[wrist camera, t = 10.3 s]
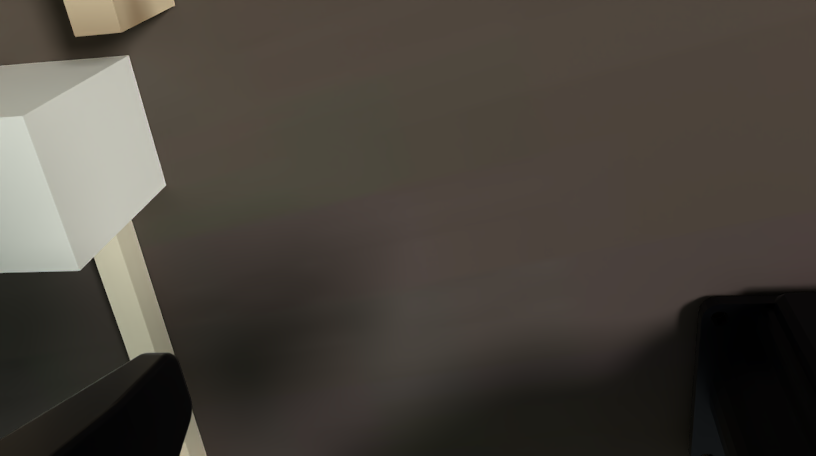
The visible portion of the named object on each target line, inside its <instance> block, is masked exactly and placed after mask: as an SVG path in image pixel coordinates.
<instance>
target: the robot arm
mask: <svg viewBox="0 0 816 456" xmlns="http://www.w3.org/2000/svg"><path fill="white" fill-rule="evenodd" d="M719 311H721V312H725V314H724V315H723V316H722V317H719V318H712V317H711V316H712V315H713V314H714V313H715V312H719ZM191 416H192V401H191V397H190V394H189V391H188V388H187V385H186V382H185V379H184V376H183V373H182V370H181V367H180V363H179V361H178V359H177V358H176V356H175V355H173V354H171V353H168V352H165V353H143V354H140V355H139V356H137V357H135V358H134V359H132V360H130V361H129V362H127V363H125V364H124V365H122V366H120V367H119V368H117V369H115V370H114V371H112V372H110V373H109V374H107V375H106V376H104V377H102V378H101V379H99V380H97V381H96V382H94V383H92V384H91V385H89V386H87V387H86V388H84V389H82V390H81V391H79V392H77V393H76V394H74V395H73V396H71V397H69V398H68V399H66V400H64V401H63V402H61V403H59V404H58V405H56V406H54V407H53V408H51V409H49V410H48V411H46V412H44V413H43V414H41V415H40V416H38V417H36V418H35V419H33V420H31V421H30V422H28V423H26V424H25V425H23V426H21V427H20V428H18V429H16V430H15V431H13V432H11V433H10V434H8V435H7V436H5V437H3V438H2V439H0V456H180V453H181V450H182V446H183V443H184V440H185V437H186V434H187V430H188V427H189V424H190V421H191ZM688 451H689V456H701V455H703V454H710V455H708V456H816V292H805V293H785V294H782V295H769V296H722V297H713V298H709V299H708V300H706V301H704V302H703V303H702V304H701V306H700V308H699V312H698V325H697V339H696V352H695V366H694V379H693V393H692V407H691V420H690V434H689V447H688Z"/></svg>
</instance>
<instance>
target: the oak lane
mask: <svg viewBox="0 0 816 456" xmlns="http://www.w3.org/2000/svg"><path fill="white" fill-rule="evenodd" d="M63 1H64V4H65V7H66V10H67V13H68V16H69V19H70V23H71V26H72V29H73V32H74V35H75V37H79V36H89V35H100V34H111V33H121V32H124V31H126V30H128V29H130V28H132V27H134V26H135V25H137V24H139V23H141V22H143V21H145V20H147V19H149V18H151V17H153V16H155V15H157V14H159V13H161V12H163V11H165V10H167V9H169V8H171V7H173V6H175V3H174V0H63Z"/></svg>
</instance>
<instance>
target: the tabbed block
mask: <svg viewBox="0 0 816 456" xmlns="http://www.w3.org/2000/svg"><path fill="white" fill-rule="evenodd" d="M165 186H166V183H165V179H164V176H163V172H162V169H161V165H160V162H159V158H158V155H157V152H156V148H155V145H154V141H153V138H152V134H151V131H150V127H149V124H148V120H147V117H146V113H145V110H144V106H143V103H142V99H141V96H140V93H139V89H138V86H137V82H136V79H135V75H134V72H133V68H132V65H131V61H130V58H129V55H126V56H114V57H101V58H89V59H76V60H64V61H52V62H39V63H27V64H15V65H2V66H0V273H15V272H54V271H80V270H81V269H82V268H83V267H84V266H85V265H86V264H87V263H88V262H89V261H90V260H91V259H92V258H93V257H94V259H95V262H96V265H97V268H98V271H99V274H100V276H101V279H102V282H103V285H104V288H105V290H106V293H107V296H108V299H109V302H110V305H111V307H112V310H113V313H114V316H115V319H116V321H117V324H118V327H119V330H120V333H121V336H122V338H123V341H124V344H125V347H126V350H127V352H128V355H129V358H130V360H132V359H134V358H135V357H137V356H139V355H140V354H143V353H165V352H168V353H171V354H173V355H174V351H173V348H172V345H171V342H170V339H169V336H168V333H167V330H166V326H165V323H164V320H163V317H162V314H161V311H160V308H159V304H158V301H157V298H156V295H155V292H154V289H153V286H152V283H151V279H150V276H149V273H148V270H147V267H146V264H145V261H144V258H143V254H142V251H141V248H140V245H139V242H138V239H137V236H136V232H135V229H134V226H133V223H132V219H133V218H134V217H135V216H136V215H137V214H138V213H139V212H140V211H141V210H142V209H143V208H144V207H145V206H146V205H147V204H148V203H149V202H150V201H151V200H152V199H153V198H154V197H155V196H156V195H157V194H158V193H159V192H160V191H161V190H162V189H163V188H164V187H165ZM180 456H207V455H206V452H205V449H204V445H203V442H202V439H201V436H200V433H199V430H198V427H197V423H196V420H195V417H194V414H193V411H192V416H191V421H190V424H189V427H188V430H187V434H186V437H185V440H184V443H183V446H182V450H181V453H180Z"/></svg>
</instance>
